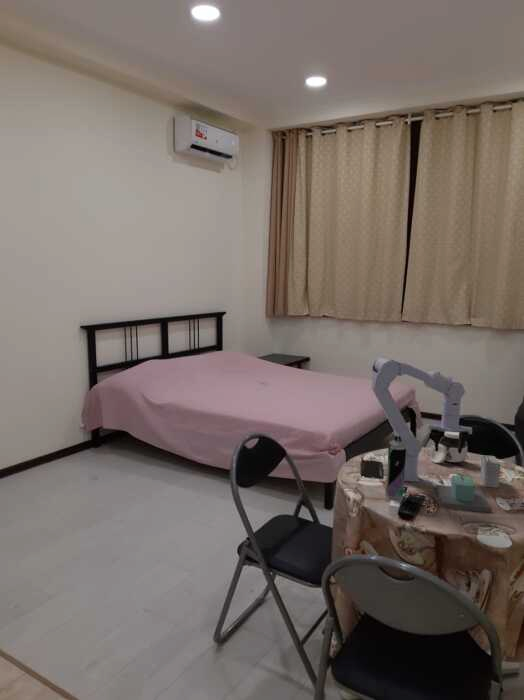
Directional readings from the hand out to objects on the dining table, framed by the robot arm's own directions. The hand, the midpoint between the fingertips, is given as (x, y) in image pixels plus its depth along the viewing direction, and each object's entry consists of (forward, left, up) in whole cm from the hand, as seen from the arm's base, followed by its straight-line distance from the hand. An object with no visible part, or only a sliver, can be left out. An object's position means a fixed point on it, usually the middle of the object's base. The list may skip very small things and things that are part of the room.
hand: (447, 451), depth 178 cm
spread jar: (+3, +16, -10) cm, 19 cm away
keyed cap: (+2, -19, -8) cm, 21 cm away
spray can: (-19, -21, -10) cm, 30 cm away
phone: (-26, 0, -10) cm, 28 cm away
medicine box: (+14, -2, -10) cm, 17 cm away
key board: (+2, -19, -9) cm, 21 cm away
